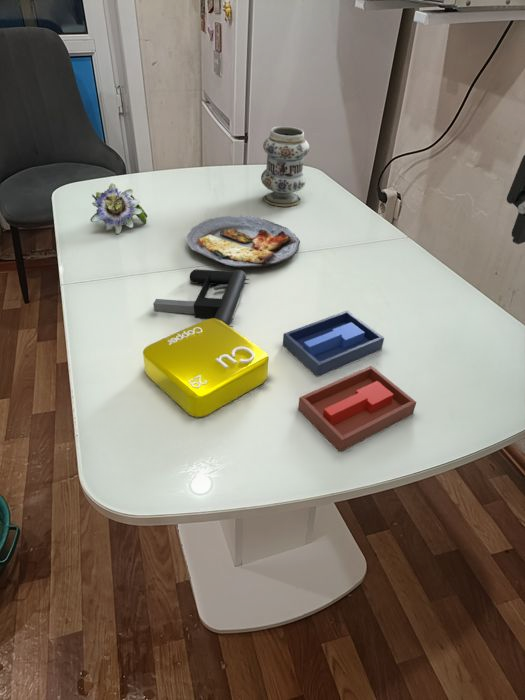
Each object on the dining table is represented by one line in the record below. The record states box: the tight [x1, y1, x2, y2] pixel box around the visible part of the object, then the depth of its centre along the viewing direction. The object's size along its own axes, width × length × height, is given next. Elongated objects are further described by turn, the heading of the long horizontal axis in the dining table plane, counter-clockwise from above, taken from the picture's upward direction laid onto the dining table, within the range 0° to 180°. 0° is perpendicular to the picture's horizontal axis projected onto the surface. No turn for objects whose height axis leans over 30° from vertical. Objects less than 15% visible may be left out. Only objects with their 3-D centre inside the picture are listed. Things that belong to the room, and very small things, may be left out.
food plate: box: [185, 215, 301, 269], centre depth 115 cm, size 25×23×4 cm
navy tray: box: [282, 310, 385, 377], centre depth 87 cm, size 14×10×2 cm
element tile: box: [142, 318, 269, 418], centre depth 80 cm, size 15×15×5 cm
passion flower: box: [89, 182, 148, 235], centre depth 120 cm, size 11×11×12 cm
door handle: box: [152, 268, 250, 328], centre depth 96 cm, size 3×20×16 cm
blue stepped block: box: [303, 322, 365, 356], centre depth 87 cm, size 11×4×2 cm, turn 123°
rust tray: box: [297, 365, 417, 453], centre depth 75 cm, size 14×10×2 cm
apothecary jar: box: [260, 125, 310, 208], centre depth 133 cm, size 12×12×18 cm
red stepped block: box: [323, 381, 394, 426], centre depth 75 cm, size 11×4×2 cm, turn 123°
